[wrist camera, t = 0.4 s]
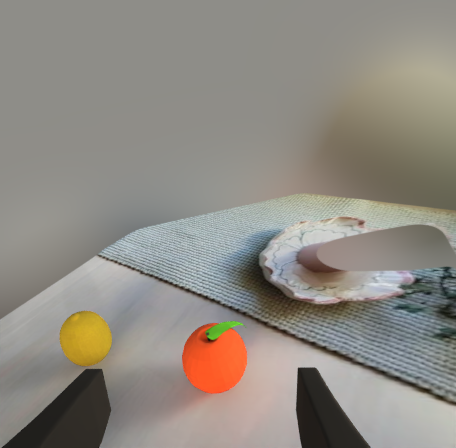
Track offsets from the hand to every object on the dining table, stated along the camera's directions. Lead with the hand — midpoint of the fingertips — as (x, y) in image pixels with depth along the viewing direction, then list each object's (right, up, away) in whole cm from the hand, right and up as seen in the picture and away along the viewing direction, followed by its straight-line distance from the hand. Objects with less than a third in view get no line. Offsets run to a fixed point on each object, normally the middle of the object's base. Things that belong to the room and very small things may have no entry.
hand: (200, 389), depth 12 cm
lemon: (-16, -12, +30) cm, 36 cm away
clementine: (+1, -11, +25) cm, 27 cm away
